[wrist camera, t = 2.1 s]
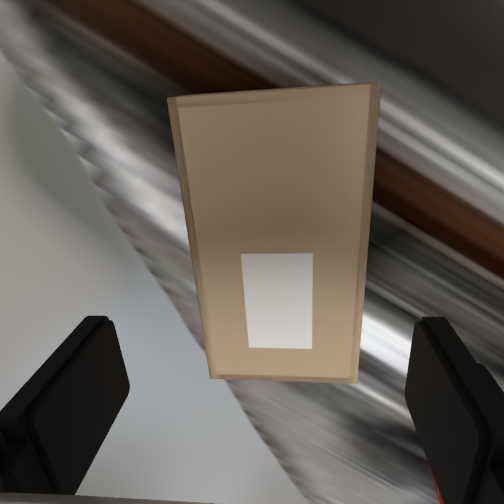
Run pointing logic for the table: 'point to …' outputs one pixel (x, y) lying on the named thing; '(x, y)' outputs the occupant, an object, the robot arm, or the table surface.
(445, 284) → the table surface
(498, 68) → the table surface
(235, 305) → the lid
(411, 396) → the robot arm
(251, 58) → the table surface
